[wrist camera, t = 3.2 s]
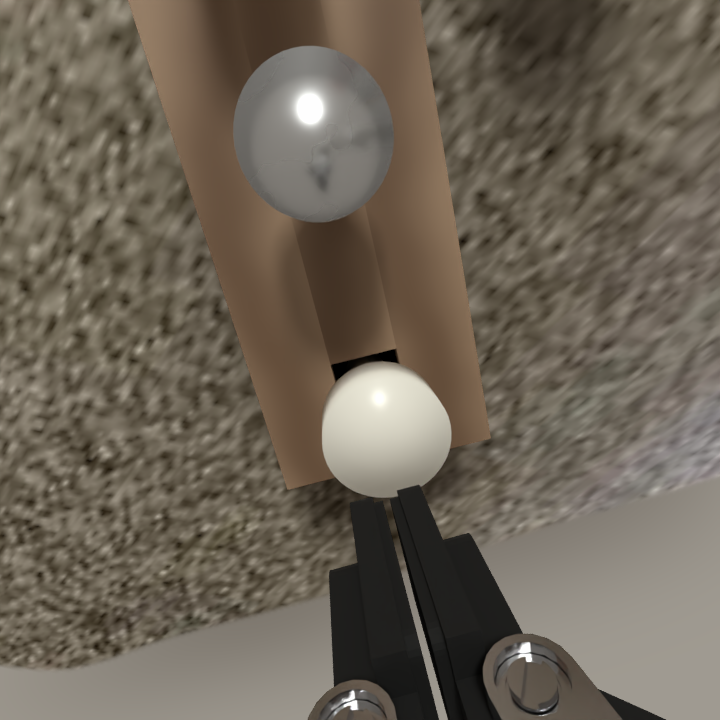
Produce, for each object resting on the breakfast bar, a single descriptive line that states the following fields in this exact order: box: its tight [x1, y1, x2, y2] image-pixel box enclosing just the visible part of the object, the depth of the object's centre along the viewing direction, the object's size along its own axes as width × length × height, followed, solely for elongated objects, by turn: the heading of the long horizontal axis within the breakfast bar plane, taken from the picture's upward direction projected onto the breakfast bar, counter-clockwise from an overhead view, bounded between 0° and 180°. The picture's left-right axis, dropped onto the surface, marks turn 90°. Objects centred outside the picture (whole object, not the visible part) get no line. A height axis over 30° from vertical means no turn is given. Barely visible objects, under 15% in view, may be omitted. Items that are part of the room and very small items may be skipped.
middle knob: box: [233, 46, 394, 223], centre depth 16 cm, size 4×4×8 cm
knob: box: [322, 354, 451, 498], centre depth 19 cm, size 4×4×8 cm
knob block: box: [128, 0, 491, 490], centre depth 20 cm, size 10×27×6 cm, turn 13°
